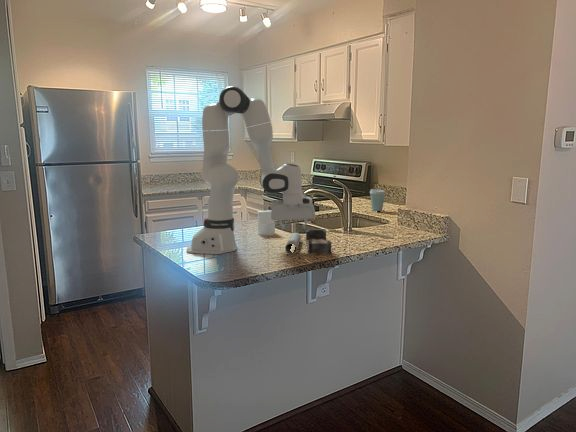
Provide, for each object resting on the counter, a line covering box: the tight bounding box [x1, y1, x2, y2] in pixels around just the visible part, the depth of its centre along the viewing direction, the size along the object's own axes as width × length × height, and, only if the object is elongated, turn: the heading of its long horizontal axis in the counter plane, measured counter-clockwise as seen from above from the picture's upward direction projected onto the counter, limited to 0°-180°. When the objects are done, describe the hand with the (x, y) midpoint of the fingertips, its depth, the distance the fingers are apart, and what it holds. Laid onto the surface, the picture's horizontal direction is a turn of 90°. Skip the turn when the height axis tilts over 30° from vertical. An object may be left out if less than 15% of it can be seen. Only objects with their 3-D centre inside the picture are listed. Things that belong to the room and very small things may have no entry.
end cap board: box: [305, 228, 333, 256], centre depth 199 cm, size 10×29×5 cm, turn 0°
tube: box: [284, 232, 302, 255], centre depth 199 cm, size 5×5×25 cm
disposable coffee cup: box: [369, 188, 386, 212], centre depth 291 cm, size 11×11×15 cm
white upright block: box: [257, 209, 276, 236], centre depth 226 cm, size 9×9×12 cm
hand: (293, 229), depth 198 cm, fingers open, 8 cm apart
